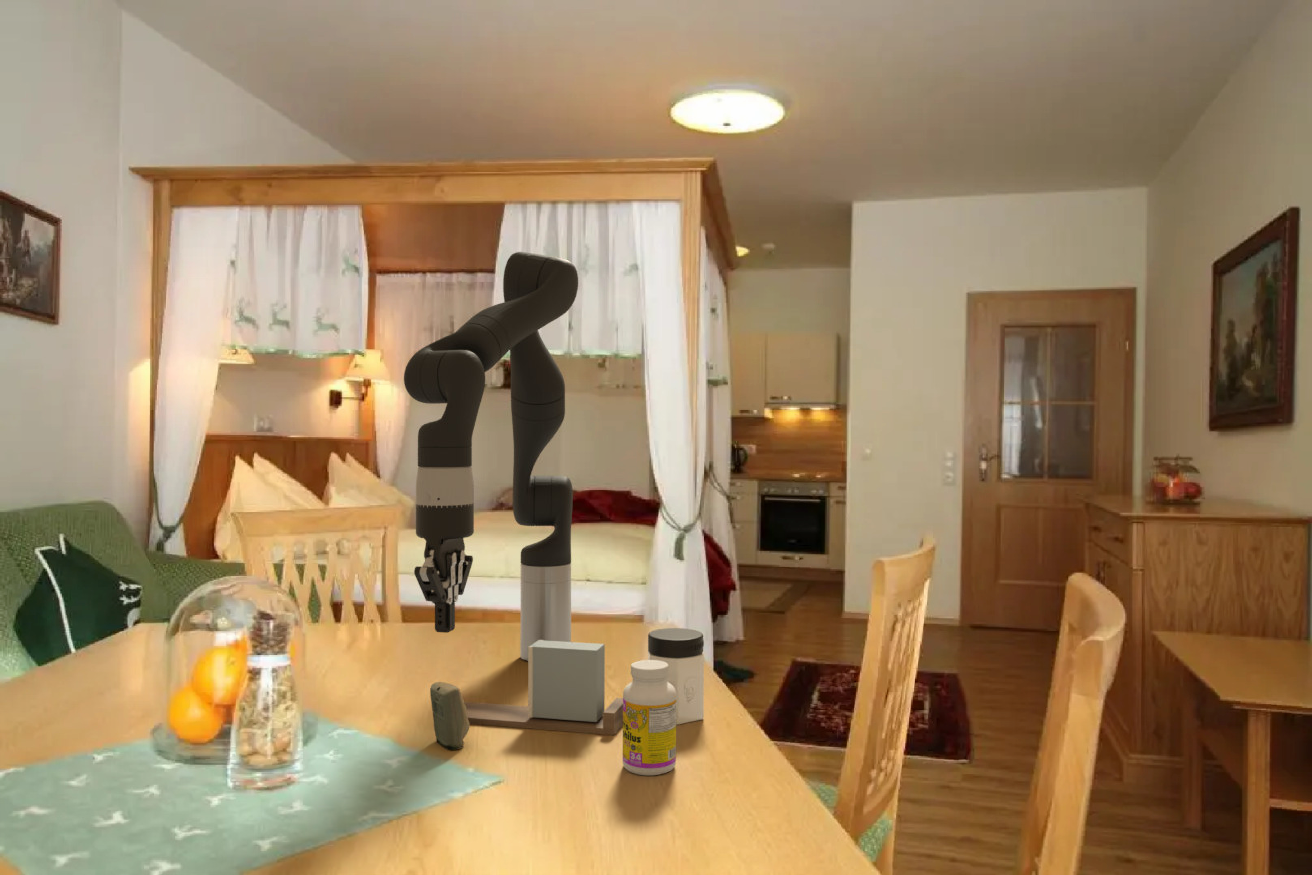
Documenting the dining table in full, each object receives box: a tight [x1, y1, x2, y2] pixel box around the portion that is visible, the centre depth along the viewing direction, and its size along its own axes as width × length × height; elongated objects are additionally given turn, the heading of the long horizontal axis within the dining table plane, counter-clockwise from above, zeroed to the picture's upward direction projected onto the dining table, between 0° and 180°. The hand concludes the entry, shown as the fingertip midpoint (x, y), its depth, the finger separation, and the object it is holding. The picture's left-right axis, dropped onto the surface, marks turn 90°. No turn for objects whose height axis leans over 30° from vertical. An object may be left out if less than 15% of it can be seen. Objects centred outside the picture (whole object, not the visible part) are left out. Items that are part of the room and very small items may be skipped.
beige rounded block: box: [429, 681, 470, 751], centre depth 123 cm, size 6×5×8 cm
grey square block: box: [527, 640, 606, 722], centre depth 132 cm, size 4×10×10 cm, turn 77°
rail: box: [464, 697, 623, 736], centre depth 133 cm, size 7×26×3 cm, turn 77°
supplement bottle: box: [622, 659, 677, 776], centre depth 115 cm, size 7×7×13 cm
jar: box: [647, 627, 705, 726], centre depth 135 cm, size 9×8×12 cm
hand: (445, 630), depth 123 cm, fingers closed
